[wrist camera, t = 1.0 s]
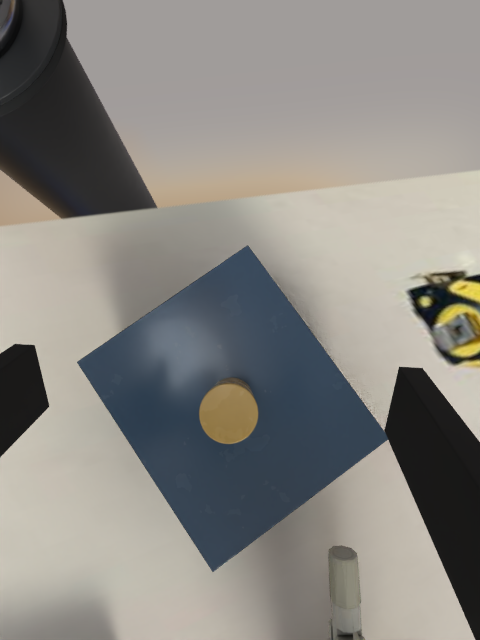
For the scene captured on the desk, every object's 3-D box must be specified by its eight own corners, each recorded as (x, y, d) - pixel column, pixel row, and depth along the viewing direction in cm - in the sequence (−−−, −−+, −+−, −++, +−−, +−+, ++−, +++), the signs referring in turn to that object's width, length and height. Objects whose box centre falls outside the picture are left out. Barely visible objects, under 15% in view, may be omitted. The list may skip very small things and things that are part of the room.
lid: (81, 361, 24) (21, 362, 18) (247, 248, 25) (250, 207, 19) (213, 565, 23) (202, 651, 16) (384, 435, 24) (442, 466, 17)
